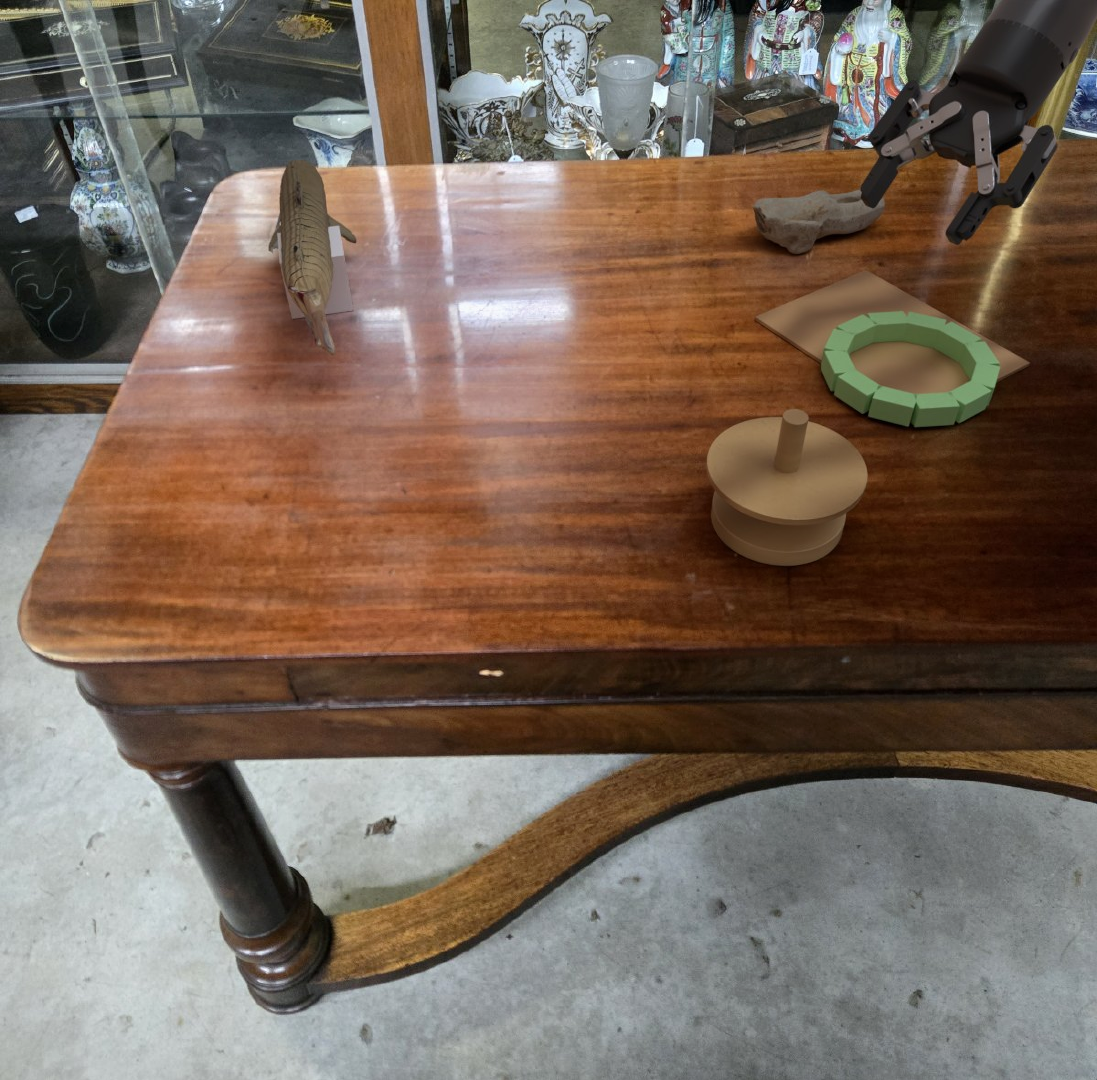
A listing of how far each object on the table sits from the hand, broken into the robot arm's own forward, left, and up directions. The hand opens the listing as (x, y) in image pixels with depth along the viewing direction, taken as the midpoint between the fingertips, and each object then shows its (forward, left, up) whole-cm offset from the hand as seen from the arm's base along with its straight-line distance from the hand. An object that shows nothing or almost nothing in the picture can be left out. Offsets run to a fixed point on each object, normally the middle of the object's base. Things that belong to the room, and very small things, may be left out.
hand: (907, 221), depth 87 cm
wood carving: (+36, +39, -13) cm, 55 cm away
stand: (-12, +23, -13) cm, 29 cm away
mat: (0, -2, -13) cm, 13 cm away
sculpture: (+19, -11, -13) cm, 26 cm away
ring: (-5, +1, -11) cm, 12 cm away
